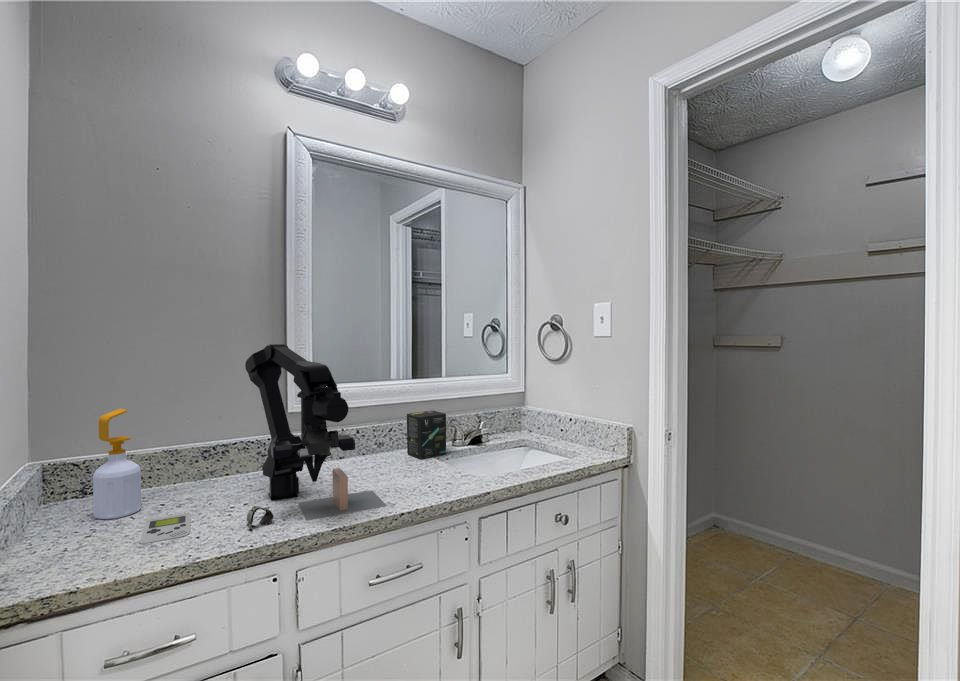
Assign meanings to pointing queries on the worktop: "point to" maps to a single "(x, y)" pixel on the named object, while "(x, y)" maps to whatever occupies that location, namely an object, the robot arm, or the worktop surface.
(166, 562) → the worktop surface
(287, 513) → the worktop surface
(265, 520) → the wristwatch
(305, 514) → the mat
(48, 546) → the worktop surface
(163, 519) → the handheld gaming device
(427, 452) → the tampon box
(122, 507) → the soap bottle
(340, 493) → the tile
